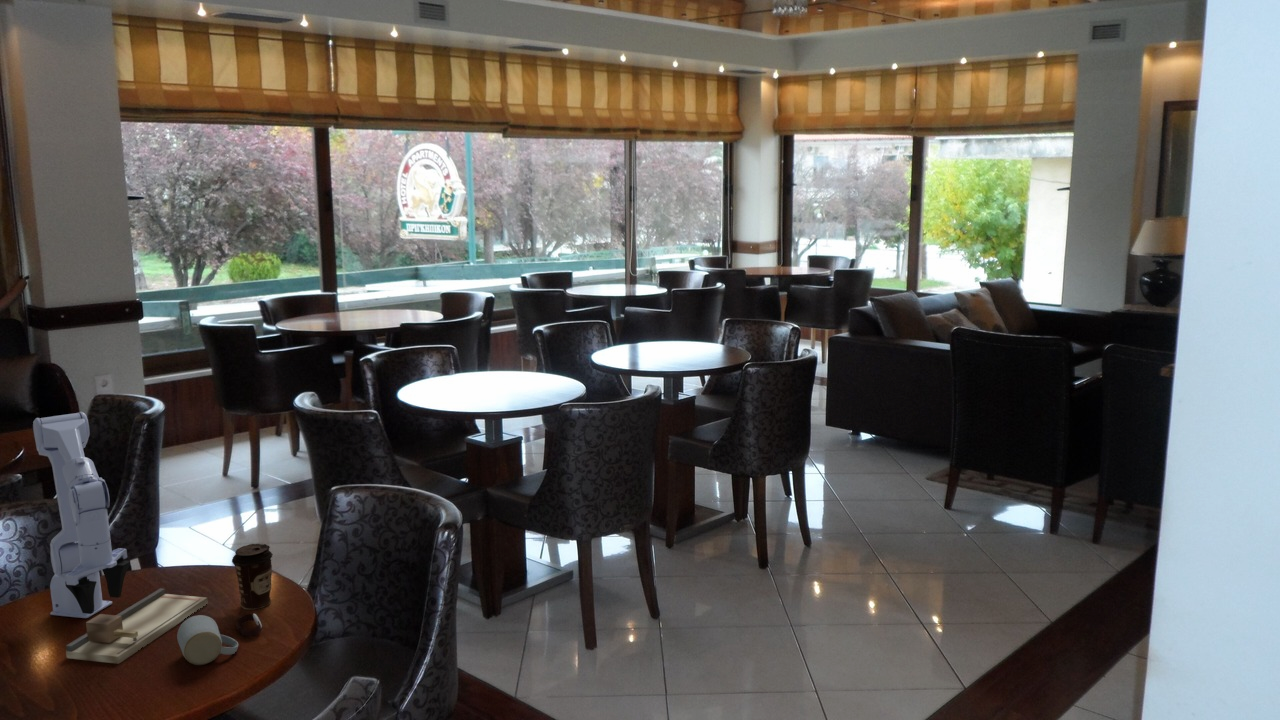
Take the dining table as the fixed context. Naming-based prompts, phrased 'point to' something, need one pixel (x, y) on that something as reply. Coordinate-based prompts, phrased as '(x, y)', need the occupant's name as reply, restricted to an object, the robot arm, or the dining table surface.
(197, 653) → the ceramic mug
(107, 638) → the marking gauge
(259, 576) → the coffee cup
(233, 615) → the dining table surface
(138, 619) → the cream flat tray
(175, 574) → the dining table surface
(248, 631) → the watch
